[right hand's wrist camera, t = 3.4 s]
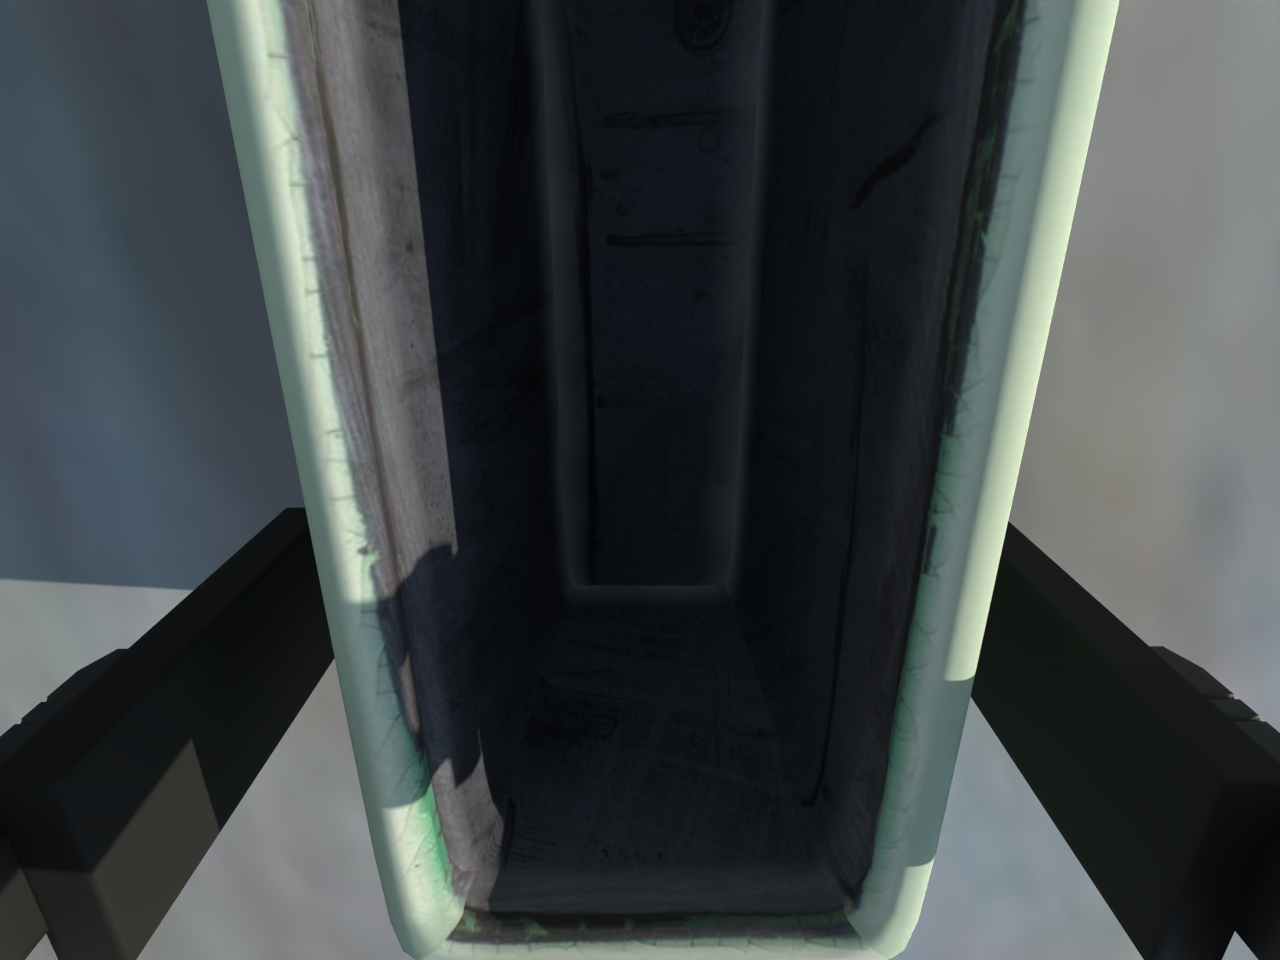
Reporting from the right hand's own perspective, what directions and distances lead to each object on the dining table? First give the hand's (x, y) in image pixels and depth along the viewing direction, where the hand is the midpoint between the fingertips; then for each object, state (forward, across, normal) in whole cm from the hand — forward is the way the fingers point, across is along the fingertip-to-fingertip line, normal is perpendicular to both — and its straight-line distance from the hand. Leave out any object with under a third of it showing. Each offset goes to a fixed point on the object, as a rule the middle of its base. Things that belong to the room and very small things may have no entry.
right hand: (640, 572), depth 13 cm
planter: (+2, 0, -10) cm, 11 cm away
